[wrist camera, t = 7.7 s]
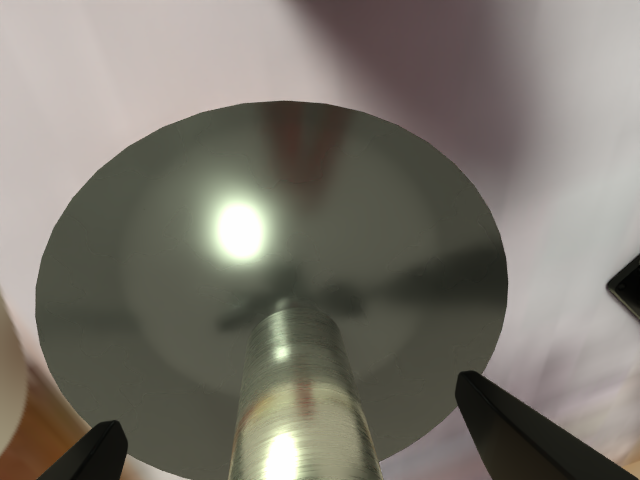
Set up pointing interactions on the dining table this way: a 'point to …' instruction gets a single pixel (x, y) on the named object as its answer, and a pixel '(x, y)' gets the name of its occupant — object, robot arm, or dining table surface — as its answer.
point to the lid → (272, 293)
